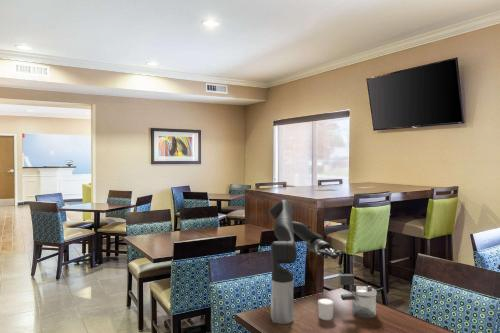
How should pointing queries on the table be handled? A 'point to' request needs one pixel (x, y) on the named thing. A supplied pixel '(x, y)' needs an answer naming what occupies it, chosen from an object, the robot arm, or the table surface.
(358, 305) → the pot
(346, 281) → the lid
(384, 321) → the table surface
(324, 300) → the white cylinder
